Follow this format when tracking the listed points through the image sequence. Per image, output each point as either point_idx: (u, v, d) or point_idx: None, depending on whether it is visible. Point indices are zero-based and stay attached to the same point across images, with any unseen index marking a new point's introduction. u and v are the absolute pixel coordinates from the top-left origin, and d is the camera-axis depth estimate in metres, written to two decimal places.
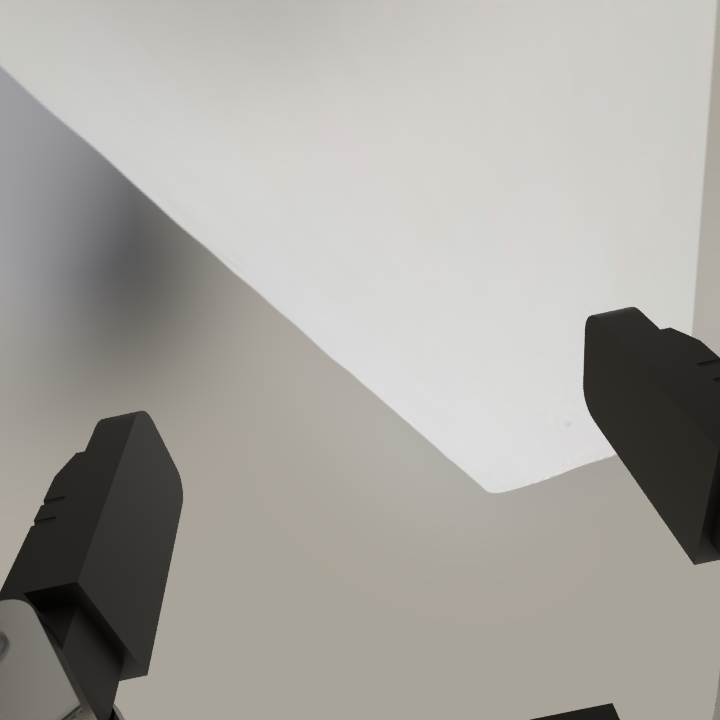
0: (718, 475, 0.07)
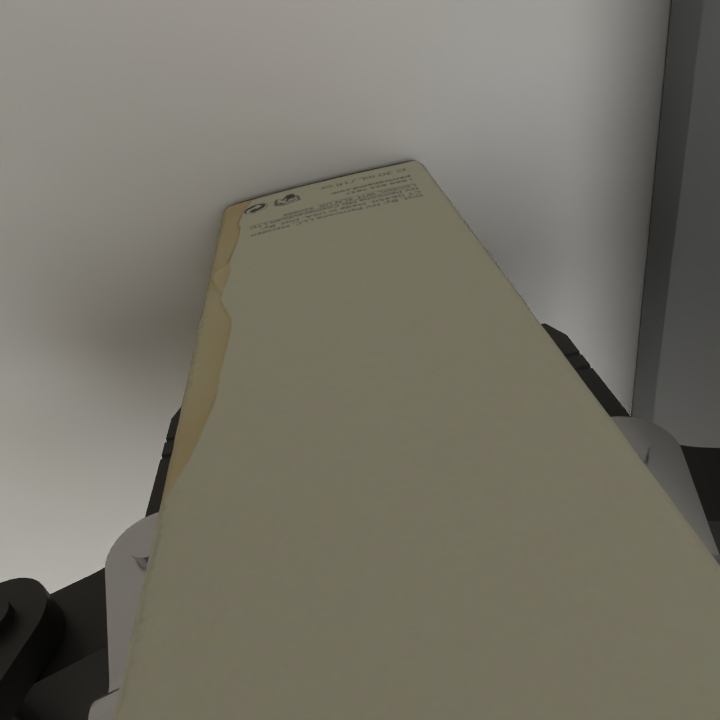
0: None
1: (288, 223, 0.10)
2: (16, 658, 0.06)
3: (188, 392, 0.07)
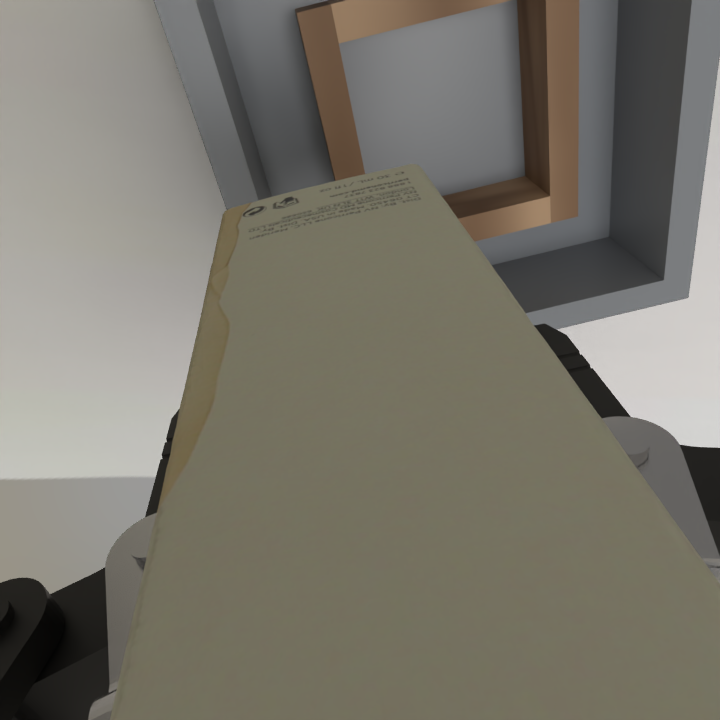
0: None
1: (287, 227, 0.10)
2: (16, 658, 0.06)
3: (185, 395, 0.07)
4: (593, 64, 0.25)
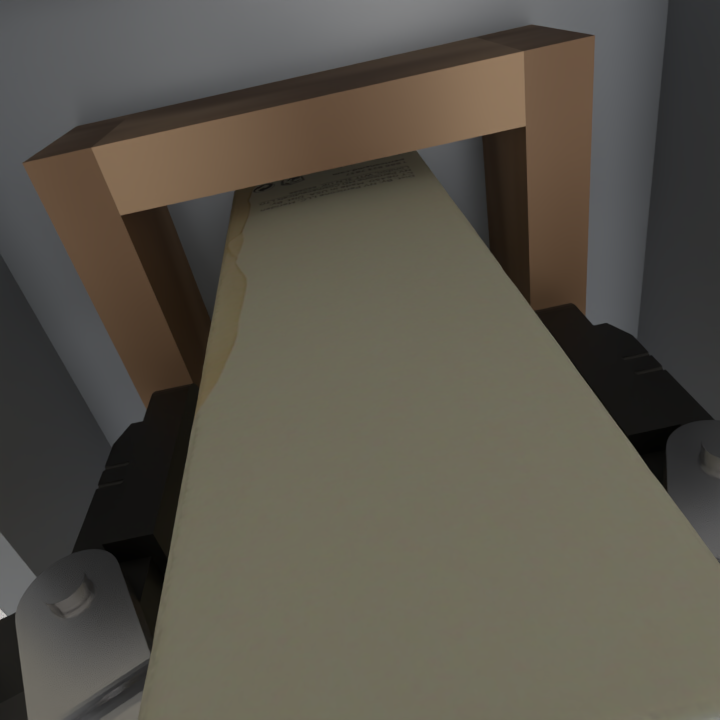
0: None
1: (294, 200, 0.11)
2: None
3: (212, 334, 0.08)
4: (611, 213, 0.15)
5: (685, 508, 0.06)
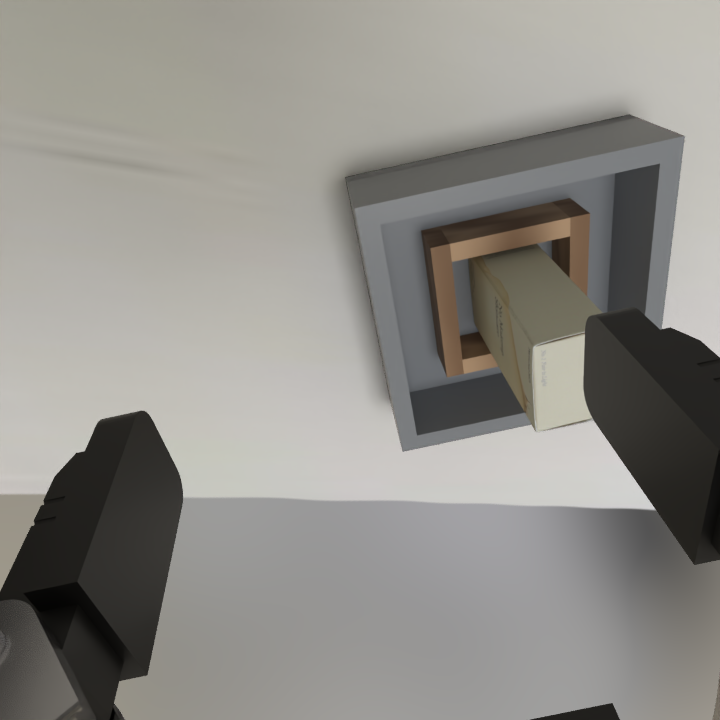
0: (718, 475, 0.07)
1: (497, 255, 0.37)
2: None
3: (499, 292, 0.33)
4: (596, 256, 0.40)
5: None
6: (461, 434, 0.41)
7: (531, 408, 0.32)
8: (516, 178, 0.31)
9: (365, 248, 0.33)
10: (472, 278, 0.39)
